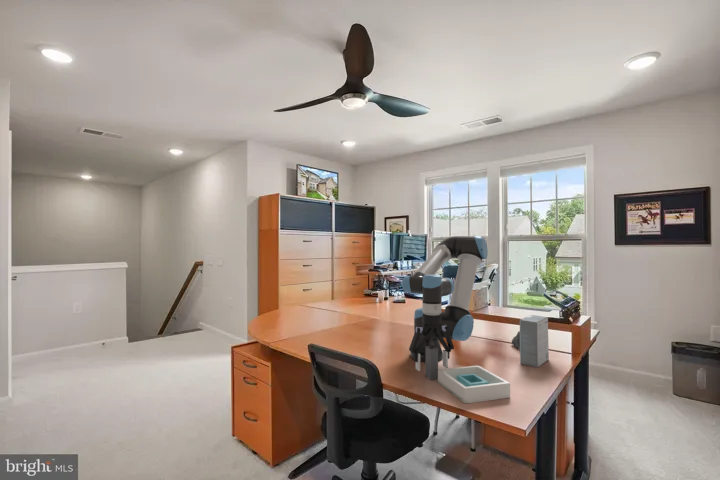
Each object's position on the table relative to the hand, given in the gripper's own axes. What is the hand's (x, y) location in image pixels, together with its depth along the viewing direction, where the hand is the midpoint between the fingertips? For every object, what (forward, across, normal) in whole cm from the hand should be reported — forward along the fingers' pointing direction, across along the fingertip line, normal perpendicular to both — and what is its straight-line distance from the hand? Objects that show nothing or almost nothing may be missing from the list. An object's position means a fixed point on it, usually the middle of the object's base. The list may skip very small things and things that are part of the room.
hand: (431, 368), depth 134 cm
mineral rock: (+4, +65, +24) cm, 70 cm away
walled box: (+4, +9, -14) cm, 17 cm away
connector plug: (+4, 0, 0) cm, 4 cm away
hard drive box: (+4, +55, +5) cm, 56 cm away
